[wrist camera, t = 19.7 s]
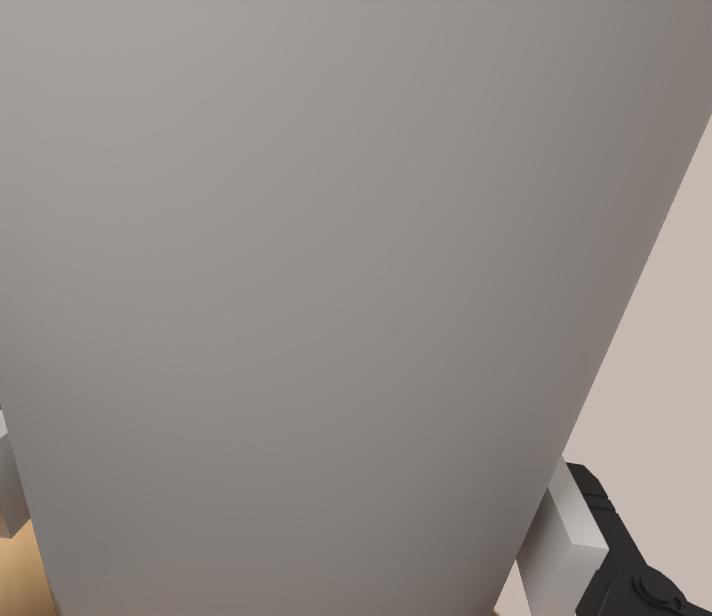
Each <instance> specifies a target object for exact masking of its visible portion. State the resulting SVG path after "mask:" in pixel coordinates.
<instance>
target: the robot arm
mask: <svg viewBox="0 0 712 616" xmlns="http://www.w3.org/2000/svg"><path fill="white" fill-rule="evenodd" d="M615 511H616V510H615V508H614V506H613V505H612V503H611V501H610V500H608V496H607V494H606V492H605V491H604V489H603V487H602V485H601V484H600V482H599V480H598V479H597V478H596V477H595V476H594V475H593V474H592V473H591V472H590V471H589V470H588V469H587V468H586V467H585V466H583V465H580V464H573V463H566V462H565V461H564V459H563V457H562V455H561V457H560V459H559V461H558V464H557V466H556V468H555V471H554V473H553V475H552V477H551V480H550V482H549V484H548V486H547V489H546V491H545V493H544V496H543V498H542V500H541V502H540V505H539V507H538V509H537V511H536V514H535V516H534V518H533V520H532V523H531V525H530V527H529V530H528V532H527V534H526V536H525V539H524V541H523V543H522V545H521V548H520V550H519V552H518V555H517V557H516V560H517V564H518V568H519V571H520V575H521V578H522V582H523V586H524V589H525V592H526V596H527V600H528V604H529V607H530V611H531V614H532V616H574V615H575V613H576V615H577V616H712V612H710V611H707V610H705V609H703V608H700V607H698V606H696V605H694V604H692V603H690V602H688V601H687V600H686V598H685V596H684V594H683V593H682V592H681V591H680V590H679V589H678V587H677V586H676V585H675V584H674V583H673V582H672V581H671V580H670V579H669V578H667V577H666V576H665V575H663V574H662V573H661V572H659V571H658V570H656V569H654V568H652V567H650V566H648V565H647V564H646V562H645V560H644V558H643V557H642V555H641V553H640V552H639V550H638V548H637V546H636V544H635V543H634V541H633V539H632V537H631V536H630V534H629V532H628V531H627V529H626V527H625V525H624V524H623V522H622V520H621V518H620V517H619V515H618V513H616V512H615ZM30 518H31V517H30V513H29V510H28V506H27V502H26V498H25V495H24V491H23V487H22V483H21V480H20V476H19V472H18V469H17V465H16V461H15V457H14V454H13V450H12V446H11V443H10V439H9V435H8V431H7V428H6V424H5V420H4V416H3V413H2V409H1V405H0V537H3V538H9V539H11V538H12V537H13V536H14V535H15V534H16V533H17V532H18V531H19V530H20V529H21V528H22V527H23V526H24V524H25V523H26V522H27V521H28V520H29V519H30Z"/></svg>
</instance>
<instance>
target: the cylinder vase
mask: <svg viewBox="0 0 712 616" xmlns="http://www.w3.org/2000/svg"><path fill="white" fill-rule="evenodd" d="M711 114H712V0H0V405H1V409H2V413H3V416H4V420H5V424H6V428H7V431H8V435H9V439H10V443H11V446H12V450H13V454H14V457H15V461H16V465H17V469H18V472H19V476H20V480H21V483H22V487H23V491H24V495H25V498H26V502H27V506H28V510H29V513H30V517H31V521H32V524H33V528H34V532H35V536H36V539H37V543H38V547H39V551H40V554H41V558H42V562H43V565H44V569H45V573H46V577H47V580H48V584H49V588H50V591H51V595H52V599H53V603H54V606H55V610H56V614H57V616H491V614H492V611H493V609H494V607H495V604H496V602H497V600H498V598H499V595H500V593H501V591H502V589H503V586H504V584H505V582H506V579H507V577H508V575H509V573H510V570H511V568H512V566H513V564H514V561H515V559H516V557H517V555H518V552H519V550H520V548H521V545H522V543H523V541H524V539H525V536H526V534H527V532H528V530H529V527H530V525H531V523H532V520H533V518H534V516H535V514H536V511H537V509H538V507H539V505H540V502H541V500H542V498H543V496H544V493H545V491H546V489H547V486H548V484H549V482H550V480H551V477H552V475H553V473H554V471H555V468H556V466H557V464H558V461H559V459H560V457H561V455H562V452H563V450H564V448H565V445H566V443H567V441H568V439H569V437H570V434H571V432H572V430H573V427H574V425H575V423H576V421H577V418H578V416H579V414H580V411H581V409H582V407H583V405H584V402H585V400H586V398H587V396H588V393H589V391H590V389H591V387H592V384H593V382H594V380H595V377H596V375H597V373H598V371H599V368H600V366H601V364H602V361H603V359H604V357H605V355H606V353H607V350H608V348H609V346H610V343H611V341H612V339H613V337H614V334H615V332H616V330H617V327H618V325H619V323H620V320H621V318H622V316H623V314H624V311H625V309H626V307H627V305H628V302H629V300H630V298H631V296H632V293H633V291H634V289H635V287H636V284H637V282H638V280H639V278H640V275H641V273H642V271H643V268H644V266H645V264H646V262H647V260H648V257H649V255H650V253H651V250H652V248H653V246H654V243H655V241H656V239H657V237H658V235H659V232H660V230H661V228H662V225H663V223H664V221H665V219H666V216H667V214H668V212H669V210H670V207H671V205H672V203H673V201H674V198H675V196H676V194H677V191H678V189H679V187H680V185H681V182H682V180H683V177H684V176H685V173H686V171H687V169H688V166H689V164H690V162H691V160H692V157H693V155H694V153H695V151H696V148H697V146H698V144H699V142H700V139H701V137H702V135H703V132H704V130H705V128H706V126H707V123H708V121H709V119H710V117H711Z"/></svg>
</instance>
